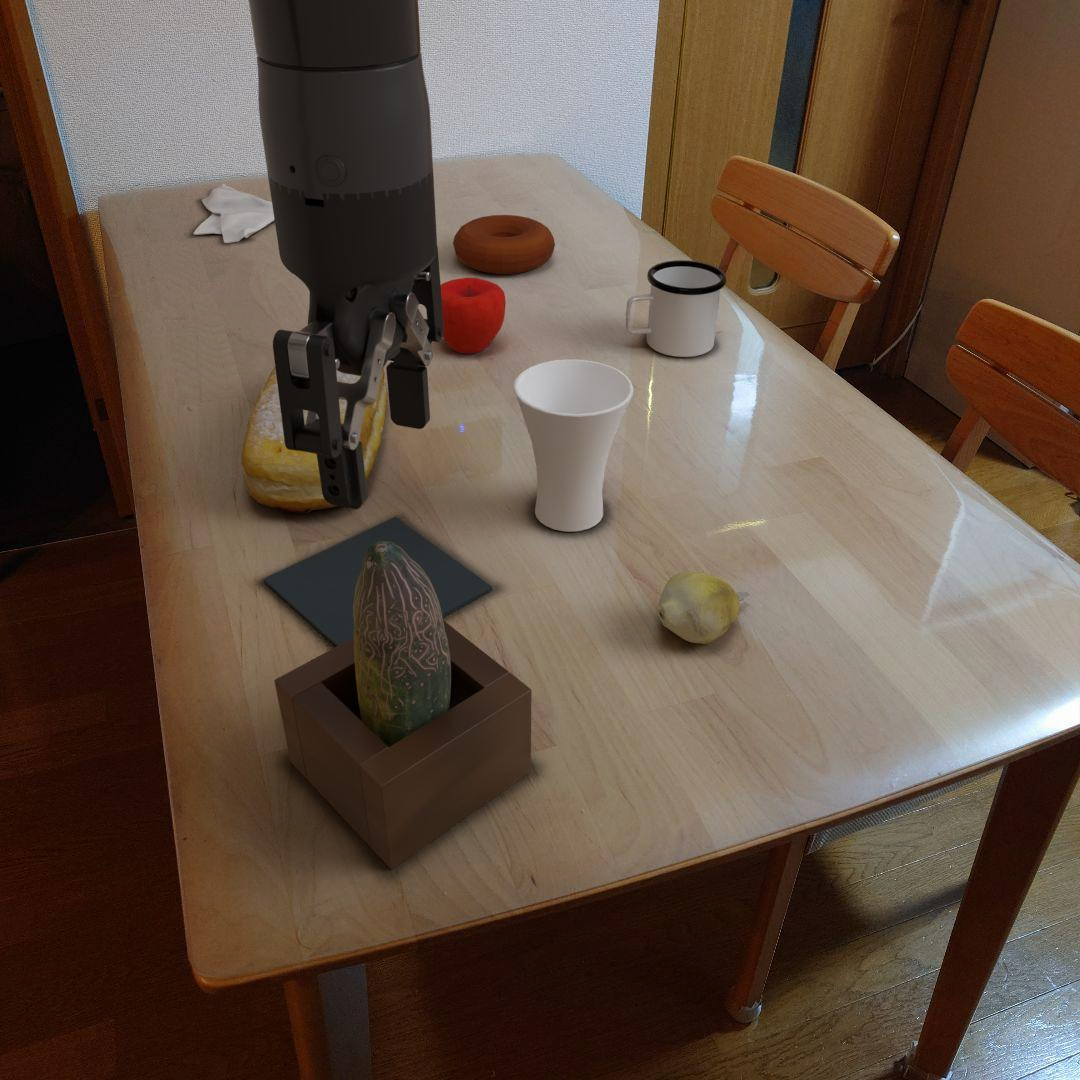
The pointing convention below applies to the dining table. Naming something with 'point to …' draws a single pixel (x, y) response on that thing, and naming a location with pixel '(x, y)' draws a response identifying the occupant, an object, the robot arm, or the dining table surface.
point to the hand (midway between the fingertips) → (380, 461)
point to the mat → (332, 576)
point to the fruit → (698, 606)
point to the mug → (681, 307)
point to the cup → (571, 435)
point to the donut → (504, 244)
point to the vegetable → (398, 645)
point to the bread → (296, 473)
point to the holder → (407, 748)
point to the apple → (471, 313)
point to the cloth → (235, 214)
